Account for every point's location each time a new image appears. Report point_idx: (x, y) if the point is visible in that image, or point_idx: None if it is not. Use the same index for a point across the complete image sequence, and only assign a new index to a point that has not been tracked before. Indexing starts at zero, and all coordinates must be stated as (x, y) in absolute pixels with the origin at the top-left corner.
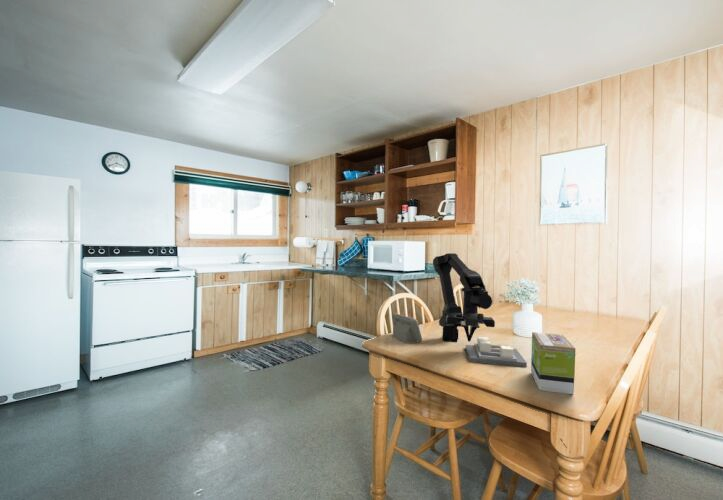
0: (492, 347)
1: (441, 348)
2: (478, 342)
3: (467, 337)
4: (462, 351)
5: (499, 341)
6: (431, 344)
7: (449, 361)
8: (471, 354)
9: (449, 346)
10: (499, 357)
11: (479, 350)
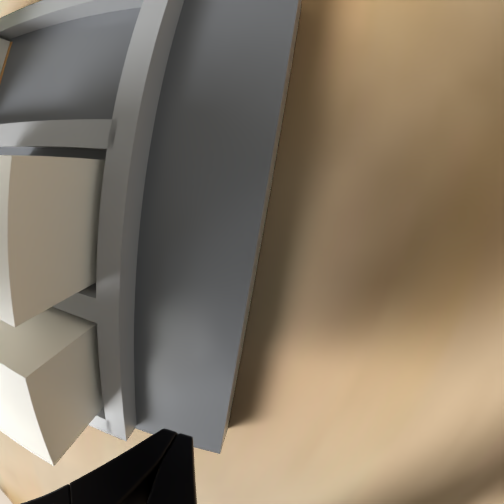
0: None
1: (467, 401)
2: (59, 365)
3: (188, 479)
4: (291, 347)
5: (22, 465)
6: (482, 460)
7: (494, 36)
8: (243, 92)
9: (370, 458)
10: (17, 11)
11: (98, 224)
